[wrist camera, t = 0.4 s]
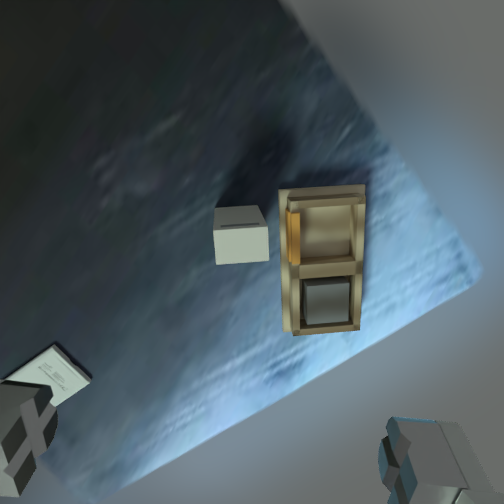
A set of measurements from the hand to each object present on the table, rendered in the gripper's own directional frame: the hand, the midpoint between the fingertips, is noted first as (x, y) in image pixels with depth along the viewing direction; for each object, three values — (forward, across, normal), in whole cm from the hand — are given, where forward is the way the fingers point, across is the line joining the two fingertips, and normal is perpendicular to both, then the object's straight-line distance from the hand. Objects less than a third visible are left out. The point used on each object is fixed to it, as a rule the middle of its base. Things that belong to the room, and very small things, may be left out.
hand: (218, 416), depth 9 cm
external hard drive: (+36, +31, +40) cm, 63 cm away
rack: (+44, -10, +18) cm, 49 cm away
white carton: (+44, +3, +13) cm, 45 cm away
